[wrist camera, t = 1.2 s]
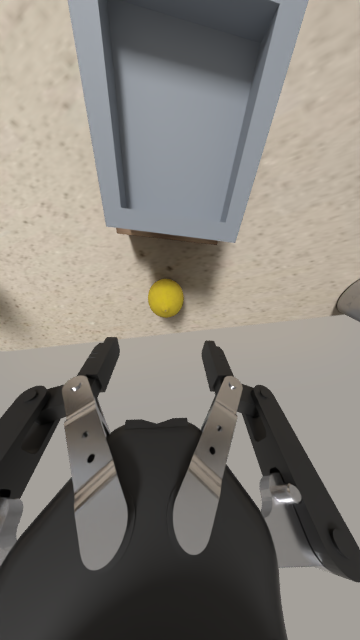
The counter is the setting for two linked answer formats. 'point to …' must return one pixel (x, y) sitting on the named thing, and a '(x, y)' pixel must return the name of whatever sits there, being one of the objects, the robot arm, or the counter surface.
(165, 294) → the lemon
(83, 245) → the counter surface
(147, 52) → the slate cup block
